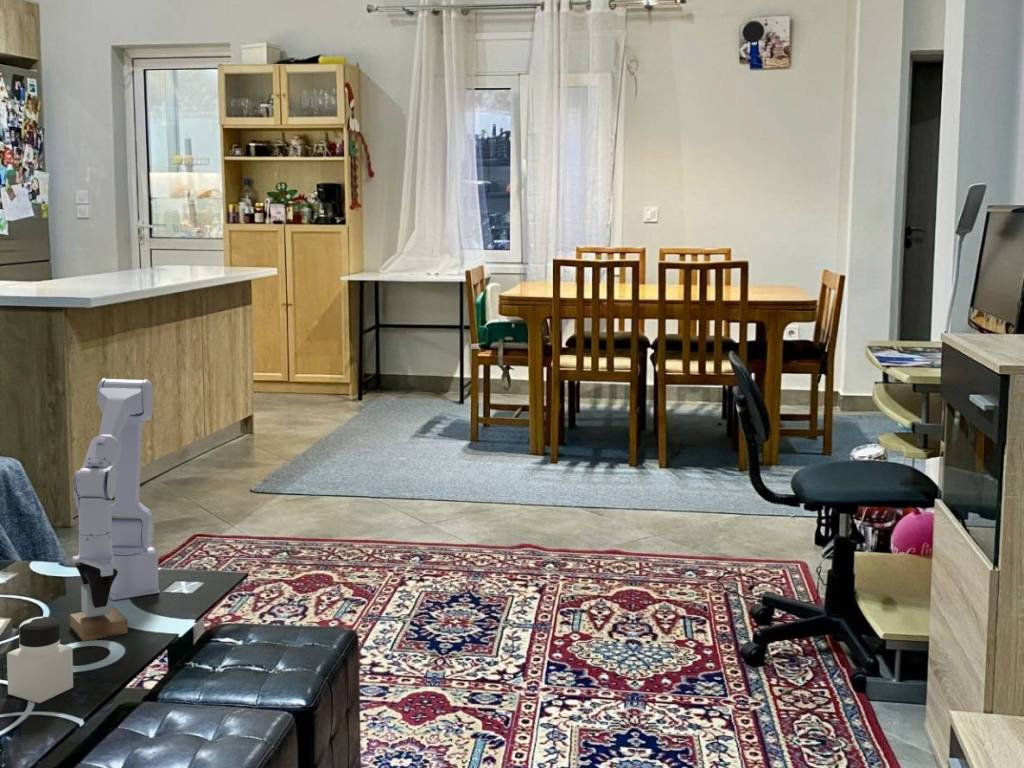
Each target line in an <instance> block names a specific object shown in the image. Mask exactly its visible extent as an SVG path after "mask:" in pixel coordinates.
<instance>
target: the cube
mask: <svg viewBox="0 0 1024 768" xmlns="http://www.w3.org/2000/svg"><path fill="white" fill-rule="evenodd" d="M80 591H81V592H80V597H81V604H80V605H81V612H83V613H84V614H85V615H86V616H87V617H94V616H99V615H105V614H110V607H111V604H110V603H111V601H110V600H111V598H110V593H109V597H108V602H107V605H106V606H104V607H98V608H95V607H94V605H93V602H92V596H91V590H90V586H89V584H84V585H83V584H81V585H80Z"/></svg>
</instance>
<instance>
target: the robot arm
mask: <svg viewBox="0 0 1024 768" xmlns="http://www.w3.org/2000/svg"><path fill="white" fill-rule="evenodd" d="M154 397H155V394H154V387H153V384H152V382H151V381H150V379H121V378H120V379H119V378H118V379H117V378H116V379H115V378H107V377H104V378H102V379H100V381H99V382H98V385H97V389H96V402H97V405H98V407H99V410H100V412H101V413H102V415H101V416H102V417H101V422H100V426H99V432H98V435H97V436H95V437H93V438H92V439H91V440H90V442H89V446H88V448H87V452H86V455H85V458H84V462H83V465H82V467H81V468H80V469H79V470H78V469H77V470H76V471H75V473H74V476H73V479H72V480H73V482H72V491H73V496H74V501H75V509H78V511H77V512H78V555H74V556H72V558H71V560H72V561H73V563H74V566H75V568H76V569H77V571H78V573H79V576H80V578H81V582H82V585H84V584H89V586H90V590H91V596H92V602H93V605H94V607H95V608H98V607H104V606H106V605H107V602H108V597H109V593H110V600H112V601H118V600H122V599H130V598H136V597H142V596H146V595H147V596H149V595H153V594H158V593H160V589H159V559H158V553H157V551H156V548H155V547H153V546H152V545H153V541H154V535H155V533H154V531H155V529H154V528H155V526H154V521H153V516H154V514H153V512H152V511H151V509H150V508H149V507H147V506H145V505H144V504H143V503H142V502H141V501H140V485H141V465H142V464H141V461H142V445H143V444H142V437H143V428H144V424H145V422H147V421H150V420H151V419H152V418H153V417H152V415H153V414H154ZM113 498H114V503H112V502H113V501H112V499H113ZM114 517H115V518H114ZM119 517H120V518H119ZM123 517H124V518H123ZM126 517H128V518H126ZM131 517H136V518H131Z"/></svg>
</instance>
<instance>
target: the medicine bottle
mask: <svg viewBox="0 0 1024 768" xmlns="http://www.w3.org/2000/svg"><path fill="white" fill-rule="evenodd" d="M60 628H61V627H60V621H59V620H58V619H56V618H54V617H50V616H36V617H31V618H29V619H26V620H24V621H22V622H21V623H20V625H19V626H18V642H19V643H18V644H19V648H16V649H13V650H11V651H9V652H7V653H6V664H7V665H6V669H7V672H6V673H7V694H8V695H10V696H13V697H16V698H21V699H23V700H26V701H30V702H33V703H37V704H41V703H44V702H45V701H49V700H50V699H52V698H54V697H56V696H58V695H60V694H62V693H64V692H66V691H69V690H71V689H73V688H74V662H73V661H74V658H73V656H74V655H73V647H72V646H69V645H65V644H61V632H60V631H61V630H60Z"/></svg>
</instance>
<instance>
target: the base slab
mask: <svg viewBox="0 0 1024 768" xmlns="http://www.w3.org/2000/svg"><path fill="white" fill-rule="evenodd" d="M128 621H129V620H128V618H127V617H126V616H124V615H123V614H122V613H121V612H120V611H119V610H118V609H117V608H115V606H110V614H105V615H99V616H94V617H87V616H86V615H85V614H84V613H83V612H82V611H81V612H76V613H71V614H69V626H70V627H71V628H72V629H73V630H74V631H75V632H76V633H77V634H78V635H77V634H76V633H75V632H74V631H73V630H72V629H71V628H70V629H71V630H72V631H73V632H74V633H75V634H76V635H77V636H78V637H79V639H81V641H82V642H87V641H88V640H89V641H93V640H98V639H97V638H99V639H103V637H104V638H108V636H109V637H114V636H119V635H124V634H127V633H128V629H129V628H128V626H129V625H128ZM113 635H114V636H113Z"/></svg>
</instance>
